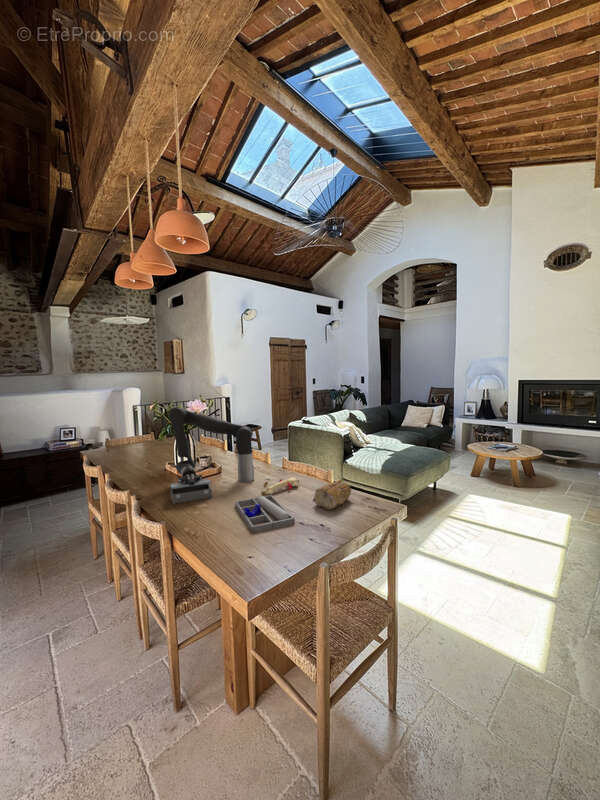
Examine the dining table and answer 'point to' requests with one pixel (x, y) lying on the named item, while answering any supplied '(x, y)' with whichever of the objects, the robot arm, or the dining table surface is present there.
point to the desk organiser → (262, 515)
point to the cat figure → (279, 486)
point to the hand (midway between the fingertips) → (192, 483)
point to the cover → (180, 485)
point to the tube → (272, 508)
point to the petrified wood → (332, 495)
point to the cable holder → (254, 512)
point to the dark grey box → (191, 493)
